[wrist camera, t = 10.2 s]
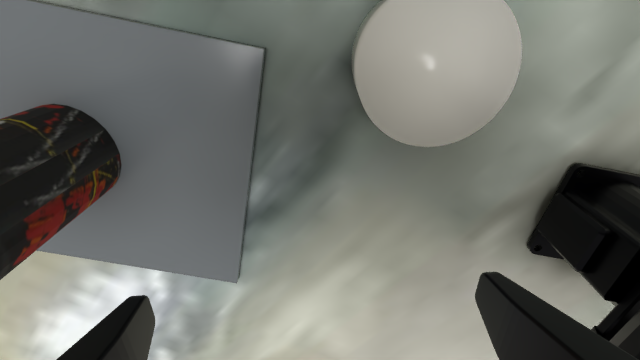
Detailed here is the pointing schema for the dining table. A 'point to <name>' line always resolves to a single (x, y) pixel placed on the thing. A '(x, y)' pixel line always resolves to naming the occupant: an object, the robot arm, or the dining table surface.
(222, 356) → the dining table surface
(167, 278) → the dining table surface
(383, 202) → the dining table surface
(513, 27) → the off-white smooth dome
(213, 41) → the slate board
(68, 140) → the deodorant
